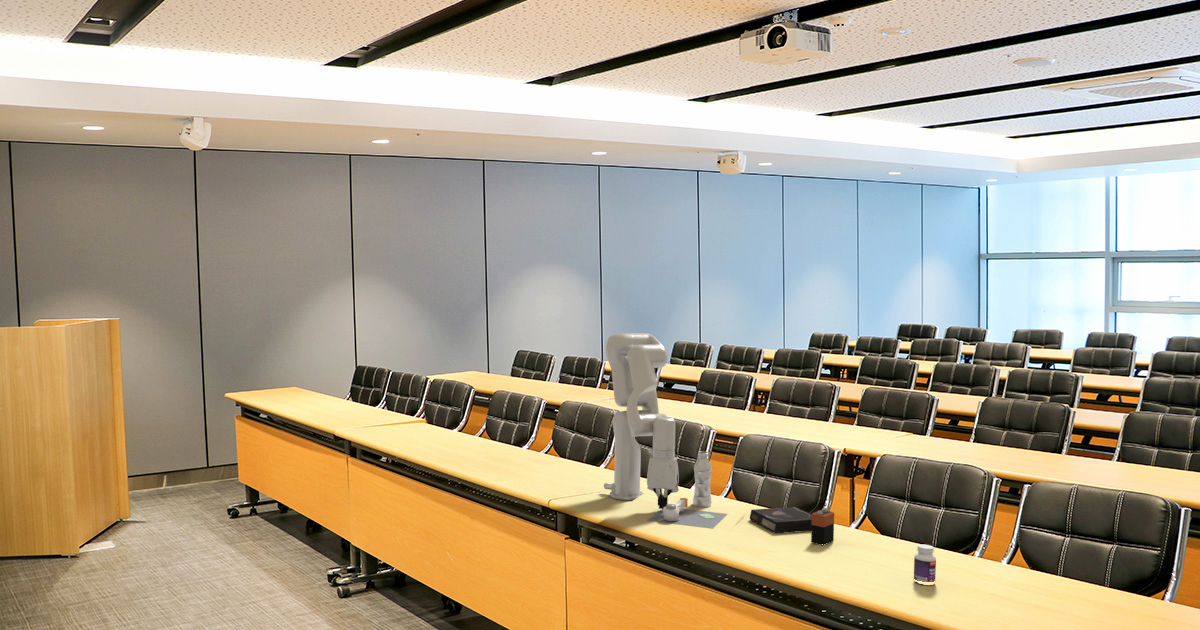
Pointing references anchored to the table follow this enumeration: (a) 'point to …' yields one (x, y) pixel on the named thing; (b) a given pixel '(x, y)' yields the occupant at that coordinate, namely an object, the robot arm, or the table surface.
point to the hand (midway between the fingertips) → (662, 507)
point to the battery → (822, 527)
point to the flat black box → (782, 519)
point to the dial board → (692, 518)
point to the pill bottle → (925, 564)
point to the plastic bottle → (702, 480)
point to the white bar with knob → (674, 510)
